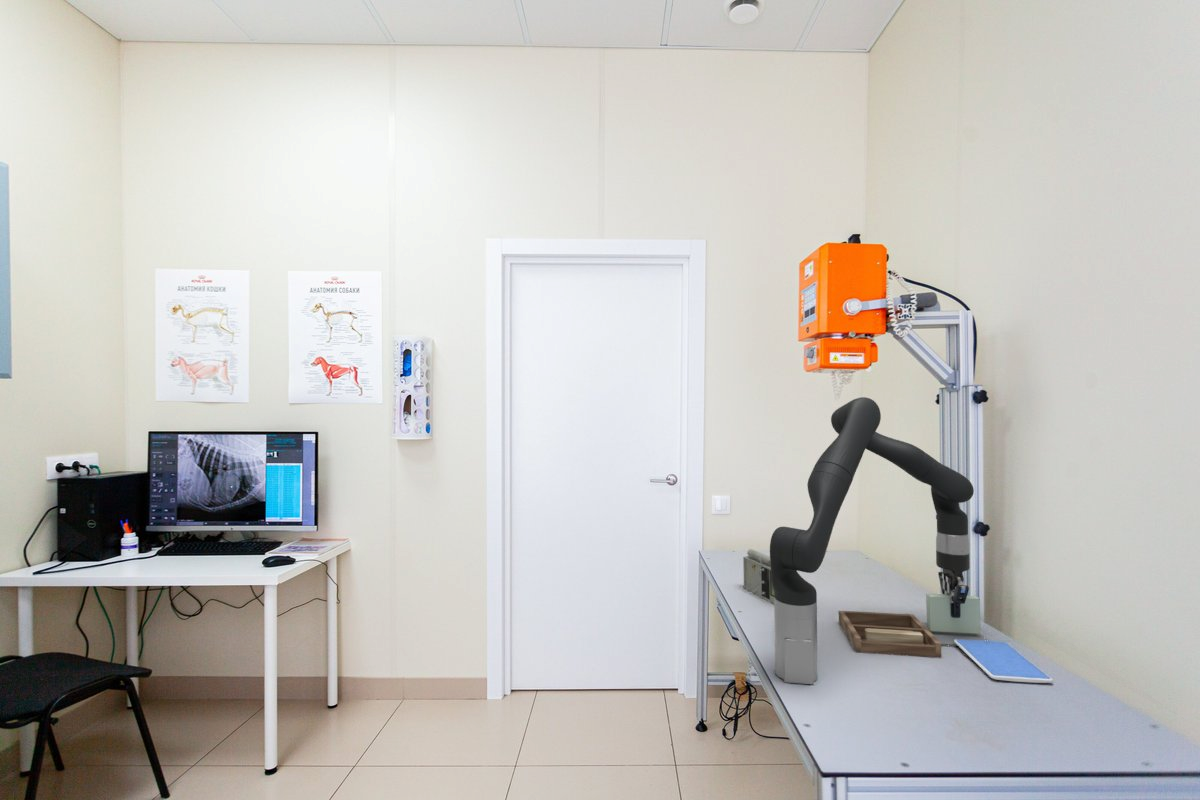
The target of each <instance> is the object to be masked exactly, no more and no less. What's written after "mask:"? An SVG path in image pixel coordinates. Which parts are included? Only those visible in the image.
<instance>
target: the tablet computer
mask: <svg viewBox="0 0 1200 800" xmlns="http://www.w3.org/2000/svg"><path fill="white" fill-rule="evenodd" d="M954 643H955V644H956V645H958V646H959V647H958V648H960V650H962V651H963V652H964V653H965V655H967V656H968V657H969V658H970V659H971V661H972V660H973V662H974V663H976V665H978V667H980V668H981V670H983V672H984V673H986V675H988V677H989V678H991V679H993V680H997V681H1007V682H1018V683H1035V684H1037V683H1038V684H1039V683H1040V684H1041V683H1042V684H1047V683H1048V684H1051V683H1053V682H1054V681H1053V678H1052V677H1050V676H1049V675H1048V674H1047V673H1045V672H1044V671H1043V670H1041V669H1040V667H1038V666H1037V665H1036V664H1034V663H1033V662H1032V661H1030V660H1029V659H1028V658H1026V657H1025V656H1024V655H1023V654H1022V653H1020V652H1019V651H1018V650H1017V649H1016V648H1014V647H1013V646H1011V645H1010V643H1008V642H1006V641H995V640H994V641H993V640H989V641H981V640H963V639H955V640H954Z"/></svg>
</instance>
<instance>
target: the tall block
mask: <svg viewBox="0 0 1200 800" xmlns="http://www.w3.org/2000/svg"><path fill="white" fill-rule="evenodd" d="M925 596H926V598H925V600H926V602H925V603H926V605H925V606H926V623H927V628H928V629H929V630H930V631H942V632H961V633H979V634H981V635H982V633H981V631H982V629H981V628H982V627H981V624H982V623H981V599H980V598H979V597H978V596H977V595H968V594H967V597H966V601H965V604H960V613H961V617H960V618H953V617H951V603H950V595H945V594H942V593H941V594H939V593H937V594H936V593H926V594H925ZM953 597H954V595H953Z"/></svg>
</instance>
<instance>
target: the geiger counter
mask: <svg viewBox="0 0 1200 800" xmlns="http://www.w3.org/2000/svg"><path fill="white" fill-rule="evenodd" d="M746 554H747V555H746V556H743V557H742V560H743V562H742V563H743V567H742V568H743V589H744V590H745V591H747V592H749V593H751V594H753V595H754V596H756V597H759V598H761V599H762V600H765V601H766V602H768V603H770V604H773V605H774V589H773V586H772V581H771V564H770V555H767V554H765V553H762V552H760V551H757V550H754V549H752V548H750V549H748V550H747V553H746Z"/></svg>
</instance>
